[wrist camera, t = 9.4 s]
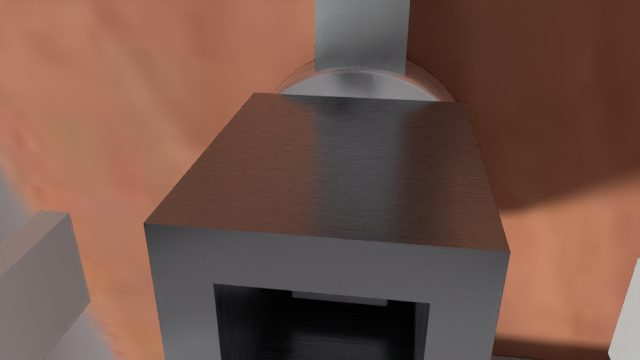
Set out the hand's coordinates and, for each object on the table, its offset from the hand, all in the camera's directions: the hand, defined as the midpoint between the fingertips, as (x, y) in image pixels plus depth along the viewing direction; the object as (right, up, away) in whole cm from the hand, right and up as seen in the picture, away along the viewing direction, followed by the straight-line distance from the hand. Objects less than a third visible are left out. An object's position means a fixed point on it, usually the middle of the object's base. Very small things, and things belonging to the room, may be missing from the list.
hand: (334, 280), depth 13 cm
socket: (+1, +2, +5) cm, 5 cm away
